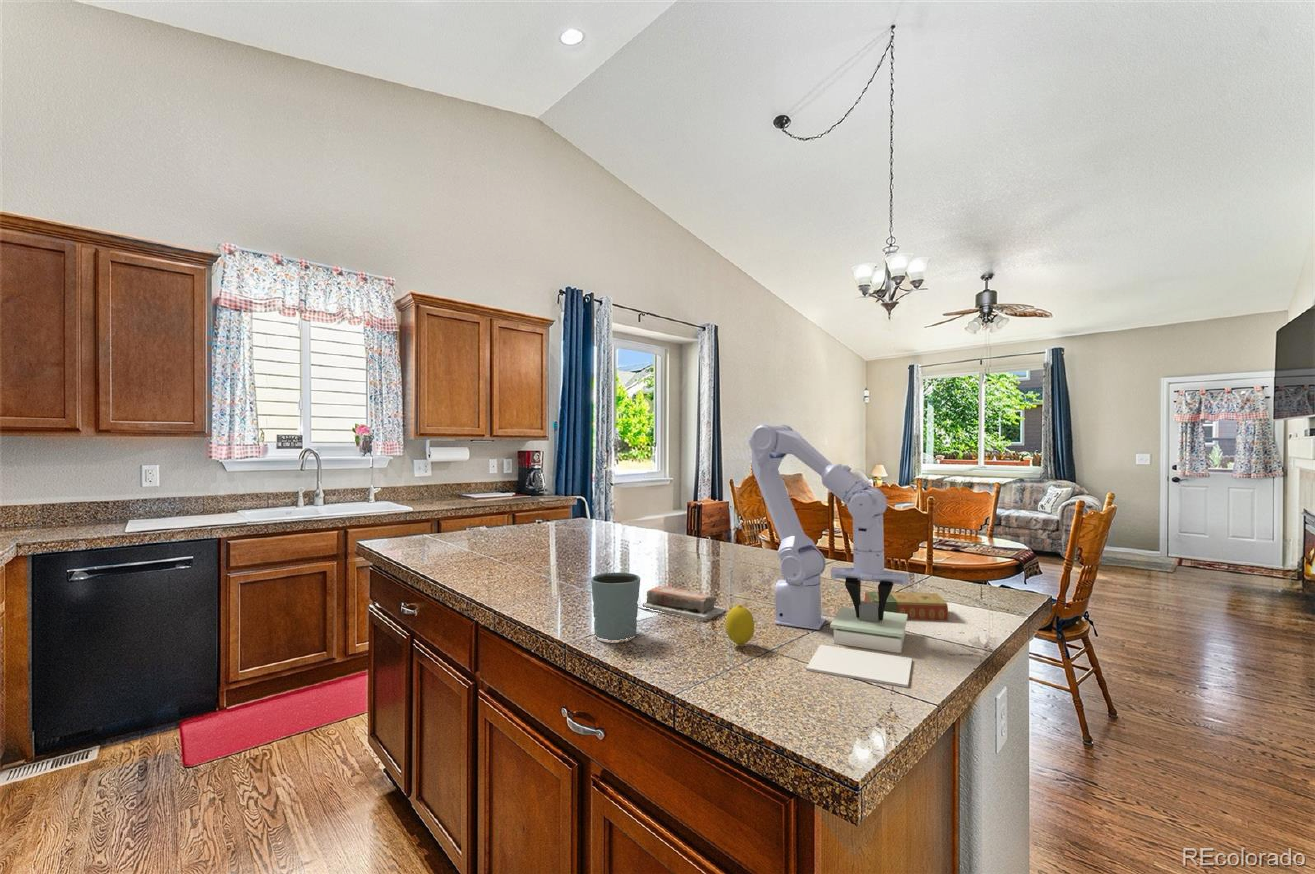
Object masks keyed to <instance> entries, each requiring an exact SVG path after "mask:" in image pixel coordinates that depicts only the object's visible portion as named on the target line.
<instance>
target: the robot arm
mask: <svg viewBox="0 0 1315 874" xmlns="http://www.w3.org/2000/svg"><path fill="white" fill-rule="evenodd" d="M748 444H749V446H750V449H751V470H752V473H753V475H754V478H755V480H756V482H757V485H758V488H759V490H760V493H761V495H762V498H763V500H764V502H765V505H766V507H767V510H768V514H769V515H770V518H771V521H772V522H773V526H774V529H775V530H776V532H777V536H778V537H779V538H778V539H779V541H780V545H779V548H778V550H777V556H778V558H779V569H780V573H781V576H782V577H783V578H784V579H778V580H777V581H776V584H775V591H774V606H775V607H774V608H775V610H774V611H775V621H774V624H775V625H780V626H781V625H782V626H788V627H796V628H803V629H804V628H805V629H810V630H818V631H819V630H821V627H822V626H823V625H824V623H825V622H826V620H827V617H826V616H822V593H821V592H822V589H821V588H822V585H821V582H822V581H821V575H822V574H823V573H824V571H825V569H826V565H827V564H826V558H825V556H824V554H823V553H822V552H821V551H820V549H818V548H817V545H816V543H815V541H814V540H813V539H811V537H809V536H808V535H806V533H805V531H804V529H803V526H802V525H801V522H800V520H799V517H798V514H797V512H796V510H795V508H794V505H793V502H792V500H791V498H790V495H789V493H788V490H787V488H786V486H785V483H784V481H783V478H782V476H781V474H780V472H779V467H780V465H781V463H782V461H783V460H784V459H785V457H787V455H792V456H794V457H796V458H797V459H798V460H800V461H801V462H802V463H803V464H805V466H807V467H809V468H810V469H811V470H813V471H814V472H815V473H817V474H818V475H819V476H820V477H821V483H822V485H823V487H825V488H826V489H827V490H828V491H830V493H832V494H833V495H835V496H836V497H837V498H838V499H839V500H840V501H842V503H844V504H845V505H846V508H847V510H848V513H849V514H850V516H851V517H852V541H853V543H852V546H853V551H852V552H853V553H852V555H853V567H836V566H835V567H834V566H832V567H831V568H830V579H831V580H832V579H833V580H835V579H836V580H837V579H842V580H843V579H844V580H845V582H844V585H845V588H846V590H847V593H848V594H849V596H850V599H851V600H852V604H853V608H855V611H856V617H857V618H859V605H860V603H861V601H862V600H861V591H862V590H861V587H862V585H861V584H862V582H872V583H873V582H874V583H879V584H878V585H877V592H878V595H879V612H878V617H879V620H881V621H882V620H883V615H884V609H885V604H886V601H887V598H888V596H889V594H890V592H891V591H892V590H893V586H894V585H895V584H896V585H901V586H904V587H905V586H907V587H908V586H910V574H909V573H906V572H905V573H903V572H896V571H890V570H885V544H884V543H885V542H884V537H885V536H884V535H885V534H884V513H885V511H886V510H887V508H888V499H887V497H886V495H885V493H884V492H883V491H882V490H881V489H880V488H877V487H870V483H869V482H868V481H863V480H862V479H861V478H859V477H858V476H857V475H855V473H853V472H851V471H852V467H850V466H849V465H845V464H844V465H843V464H842V463H837V464H836V463H835V464H832V463H831V461H829V460H828V459H827V458H826V457H825V456H824V455H823V454H821V453H820V452H819V451H818V450H817V449H816V448H815V447H814V446H813V445H811V443H809V442H808V441H807V440H806V439H805V438H804V437H803V436H802V435H801V434H800V432H798V431H797V430H794V429H793V428H792V427H791V426H790V425H787V424H780V425H773V424H766V423H765V424H758V426H756V427H754V429H753V431H752V433H751V436H750V437H749V440H748Z"/></svg>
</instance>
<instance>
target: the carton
mask: <svg viewBox="0 0 1315 874" xmlns="http://www.w3.org/2000/svg"><path fill="white" fill-rule="evenodd" d="M864 601H868V602H877V603H879V595H878V591H867V590H866V591H865V593H864ZM948 605H949V604H948V603H947V602H946V601H945V599H944V598H942V597H941V596H940V595H939V594H938V593H932V592H930V593H929V592H927V593H925V592H890V594H889V596H888V598H887V601H886V604H885V609H884V611H885V612H893V613H901V614H908V618H907V620H922V621H923V620H924V621H925V620H926V621H948V622H949V607H948Z"/></svg>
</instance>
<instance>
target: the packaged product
mask: <svg viewBox="0 0 1315 874" xmlns="http://www.w3.org/2000/svg"><path fill="white" fill-rule="evenodd" d="M716 601H717V597H715V596H713V595H708V594H705V593H699V592H694V591H690V590H689V591H688V590H686V589H681V588H675V587H671V586H666V585H665V586H664V585H663V586H662V585H659V586H657V587H653V588H651V589H649V590H647V591H646V602H643V603H642V606H643V607H646V608H650V609H653V610H659V611H662V612H666V613H670V614H675V615H680V616H683V617H686V618H689V619H688V620H690V619H696V620H700V621H705V620H707V619H709V620H711V619H713V618H715V617H714V616H716V615H718V614H720V615H721V614H724V613H725V612H726V610H727V607H723V606H722V607H720V606H719V605H718V606H717V605H715V603H716ZM642 606H641V607H642ZM724 611H725V612H724ZM723 612H724V613H723ZM718 616H719V615H718ZM712 617H713V618H712ZM716 617H717V616H716ZM710 618H711V619H710ZM700 621H699V622H700ZM707 621H708V620H707ZM705 622H706V621H705Z"/></svg>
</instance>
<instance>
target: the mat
mask: <svg viewBox="0 0 1315 874" xmlns="http://www.w3.org/2000/svg"><path fill="white" fill-rule="evenodd" d="M912 663H913V658H910V657H904V656H897V655H891V654H883V653H878V652H870V651H864V650H858V649H851V648H845V647H844V648H843V647H838V646H830V645H824V644H819V646H818V648H817V649H816V651H815V653H814V654H813V657H811V659H810V661H809V663H808V664H807V665H806V667H805V669H806V670H805V671H810V672H815V673H820V674H827V675H833V676H837V677H844V678H850V679H856V680H860V681H861V680H862V681H867V682H874V683H879V684H884V685H885V684H886V685H890V686H896V687H901V688H909V683H910V676H911V670H912Z"/></svg>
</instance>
